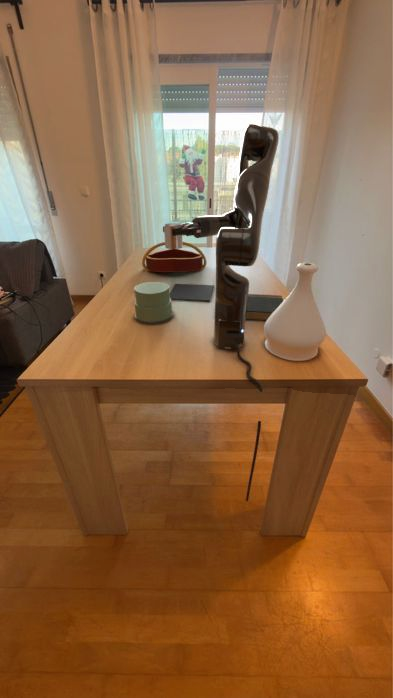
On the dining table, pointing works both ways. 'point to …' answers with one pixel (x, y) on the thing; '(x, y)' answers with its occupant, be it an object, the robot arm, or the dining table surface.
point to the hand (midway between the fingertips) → (167, 231)
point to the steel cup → (170, 240)
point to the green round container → (153, 303)
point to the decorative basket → (174, 260)
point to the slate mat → (191, 292)
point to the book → (262, 306)
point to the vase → (296, 321)
